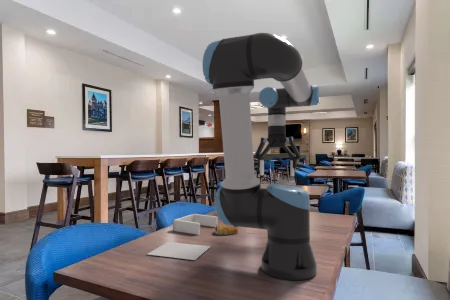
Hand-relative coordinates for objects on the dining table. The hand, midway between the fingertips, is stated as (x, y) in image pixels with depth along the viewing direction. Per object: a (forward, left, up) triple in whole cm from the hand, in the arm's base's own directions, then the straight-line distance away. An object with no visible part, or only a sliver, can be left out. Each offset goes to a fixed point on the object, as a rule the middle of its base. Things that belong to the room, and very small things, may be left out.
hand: (276, 175), depth 124 cm
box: (-14, +32, -23) cm, 42 cm away
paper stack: (-36, +16, -24) cm, 46 cm away
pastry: (-14, +17, -24) cm, 33 cm away
